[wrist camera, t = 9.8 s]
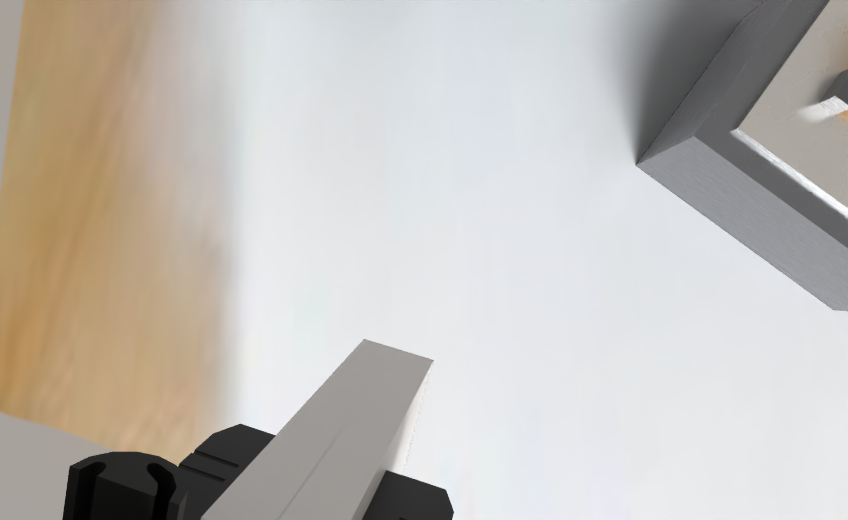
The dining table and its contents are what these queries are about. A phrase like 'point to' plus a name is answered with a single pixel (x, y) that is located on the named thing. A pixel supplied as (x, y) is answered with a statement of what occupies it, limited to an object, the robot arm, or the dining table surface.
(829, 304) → the box
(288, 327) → the dining table surface
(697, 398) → the dining table surface
